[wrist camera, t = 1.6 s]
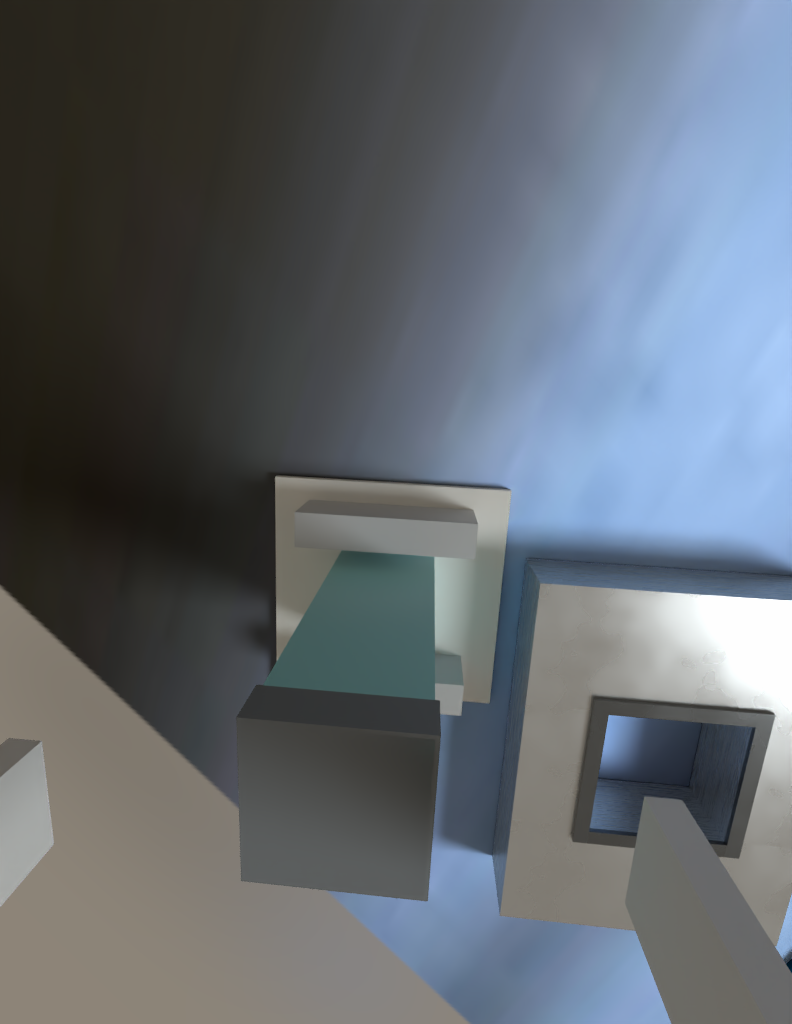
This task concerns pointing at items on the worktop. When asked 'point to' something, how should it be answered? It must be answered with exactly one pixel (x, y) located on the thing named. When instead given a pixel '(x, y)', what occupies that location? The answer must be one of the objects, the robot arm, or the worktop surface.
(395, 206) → the worktop surface
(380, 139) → the worktop surface
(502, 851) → the port panel
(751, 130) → the worktop surface
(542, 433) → the worktop surface
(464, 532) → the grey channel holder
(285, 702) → the plug
